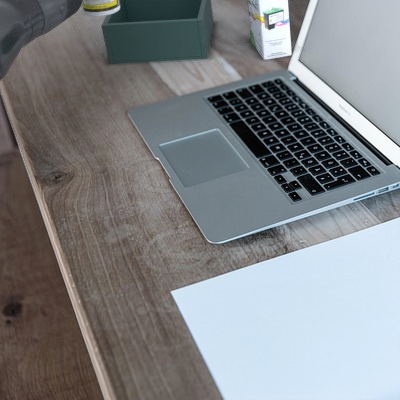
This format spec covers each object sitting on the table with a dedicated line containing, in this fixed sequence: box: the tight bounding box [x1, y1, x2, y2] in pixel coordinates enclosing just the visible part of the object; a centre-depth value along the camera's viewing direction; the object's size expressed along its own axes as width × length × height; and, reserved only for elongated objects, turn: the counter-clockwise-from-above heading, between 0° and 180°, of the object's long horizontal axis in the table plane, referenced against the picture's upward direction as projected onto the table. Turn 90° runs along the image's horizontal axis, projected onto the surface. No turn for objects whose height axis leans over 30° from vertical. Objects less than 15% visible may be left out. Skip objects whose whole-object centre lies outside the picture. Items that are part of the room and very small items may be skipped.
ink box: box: [246, 0, 293, 60], centre depth 113 cm, size 8×5×12 cm, turn 19°
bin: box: [101, 0, 215, 65], centre depth 118 cm, size 16×16×7 cm
